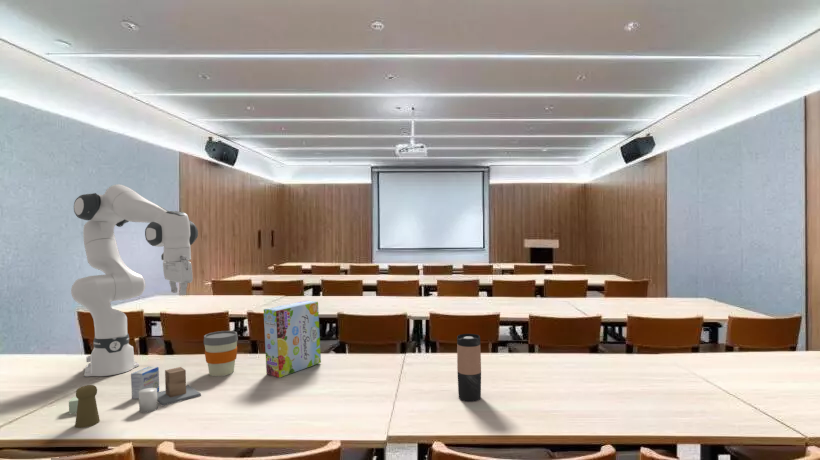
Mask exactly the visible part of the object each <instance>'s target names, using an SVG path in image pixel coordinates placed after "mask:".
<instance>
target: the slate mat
mask: <svg viewBox="0 0 820 460" xmlns="http://www.w3.org/2000/svg"><path fill="white" fill-rule="evenodd" d="M200 396H202V393H201V392H199V391H198V390H197V389H195V388H194V387H192V386H191V385H190V384H186V394H182V395H178V396H174V397H169V396H168V395H167V394H166V389H164V390H162V391H158V392H157V403H158V404H159V405H161V406H165V405H166V406H167V405H170V404H173V403H179V402H182V401H185V400H189V399H193V398H198V397H200Z"/></svg>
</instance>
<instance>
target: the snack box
mask: <svg viewBox="0 0 820 460" xmlns="http://www.w3.org/2000/svg"><path fill="white" fill-rule="evenodd" d="M319 316H320V315H319V302H318V301H311V300H302V301H297V302H292V303H287V304H281V305H278V306H273V307H269V308H268V307H267V308H264V309H263V324H264V347H265V369H266V371H265V372H266V375H268V376H271V377H276V378H279V379H280V378H283V377H284V376H288V375H291V374H293V373H296V372H299V371H302V370H304V369H307V368H311V367H312V366H316V365H318V364H321V363H322V358H321V356H322V355H321V337H320V335H321V334H320V317H319Z"/></svg>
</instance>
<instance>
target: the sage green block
mask: <svg viewBox="0 0 820 460" xmlns="http://www.w3.org/2000/svg"><path fill="white" fill-rule="evenodd" d="M77 406H78V398H77V397H76V396H73V397H71V399H70V400H69V401H68V414H69V415H73V414H77Z"/></svg>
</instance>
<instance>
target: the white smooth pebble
mask: <svg viewBox="0 0 820 460" xmlns="http://www.w3.org/2000/svg"><path fill="white" fill-rule="evenodd" d="M138 406H139V409H138V410H139V412H140V413H142V414H143V413H145V414H146V413H151V412H154V411H156V410H157V409H158V401H157V388H146V389H143V390H140V391H139V399H138Z"/></svg>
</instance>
